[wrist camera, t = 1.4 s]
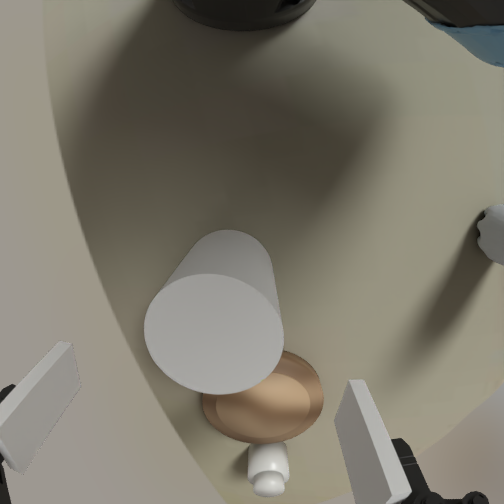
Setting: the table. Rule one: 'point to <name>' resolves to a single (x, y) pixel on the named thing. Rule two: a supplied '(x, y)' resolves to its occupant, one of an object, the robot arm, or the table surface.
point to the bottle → (492, 233)
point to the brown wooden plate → (269, 404)
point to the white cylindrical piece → (218, 316)
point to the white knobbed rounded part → (268, 468)
